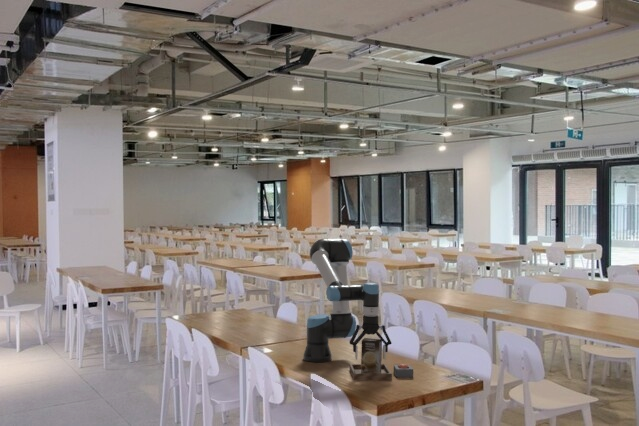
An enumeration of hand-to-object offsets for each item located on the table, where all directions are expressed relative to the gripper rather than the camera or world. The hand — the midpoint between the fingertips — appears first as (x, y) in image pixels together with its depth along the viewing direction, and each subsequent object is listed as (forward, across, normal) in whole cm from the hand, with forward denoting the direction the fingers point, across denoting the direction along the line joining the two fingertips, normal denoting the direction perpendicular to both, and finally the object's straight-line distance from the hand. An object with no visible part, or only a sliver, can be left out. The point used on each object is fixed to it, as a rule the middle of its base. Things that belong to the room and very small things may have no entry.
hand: (370, 358), depth 286 cm
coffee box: (+7, 0, 0) cm, 7 cm away
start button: (+6, +16, -1) cm, 17 cm away
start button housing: (+8, +16, -1) cm, 18 cm away
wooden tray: (+8, 0, 0) cm, 8 cm away
